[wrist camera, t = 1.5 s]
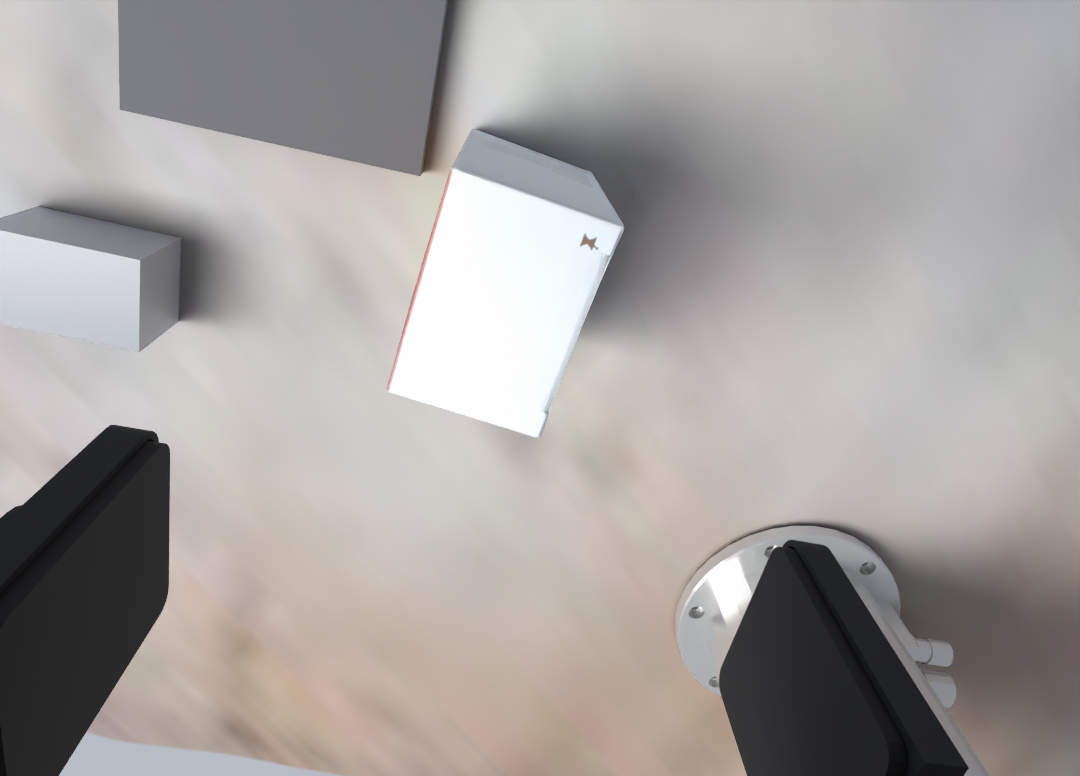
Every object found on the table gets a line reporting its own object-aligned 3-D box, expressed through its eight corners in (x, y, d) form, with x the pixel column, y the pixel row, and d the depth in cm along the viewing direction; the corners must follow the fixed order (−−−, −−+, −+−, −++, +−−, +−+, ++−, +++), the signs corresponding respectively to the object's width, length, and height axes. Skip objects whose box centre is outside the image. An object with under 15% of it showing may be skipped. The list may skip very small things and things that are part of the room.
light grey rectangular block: (182, 237, 32) (140, 260, 28) (179, 320, 34) (139, 352, 30) (39, 205, 31) (-23, 225, 28) (43, 292, 33) (-16, 321, 29)
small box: (472, 125, 30) (450, 156, 21) (595, 171, 31) (630, 222, 22) (419, 298, 33) (380, 395, 24) (533, 335, 34) (540, 443, 25)
